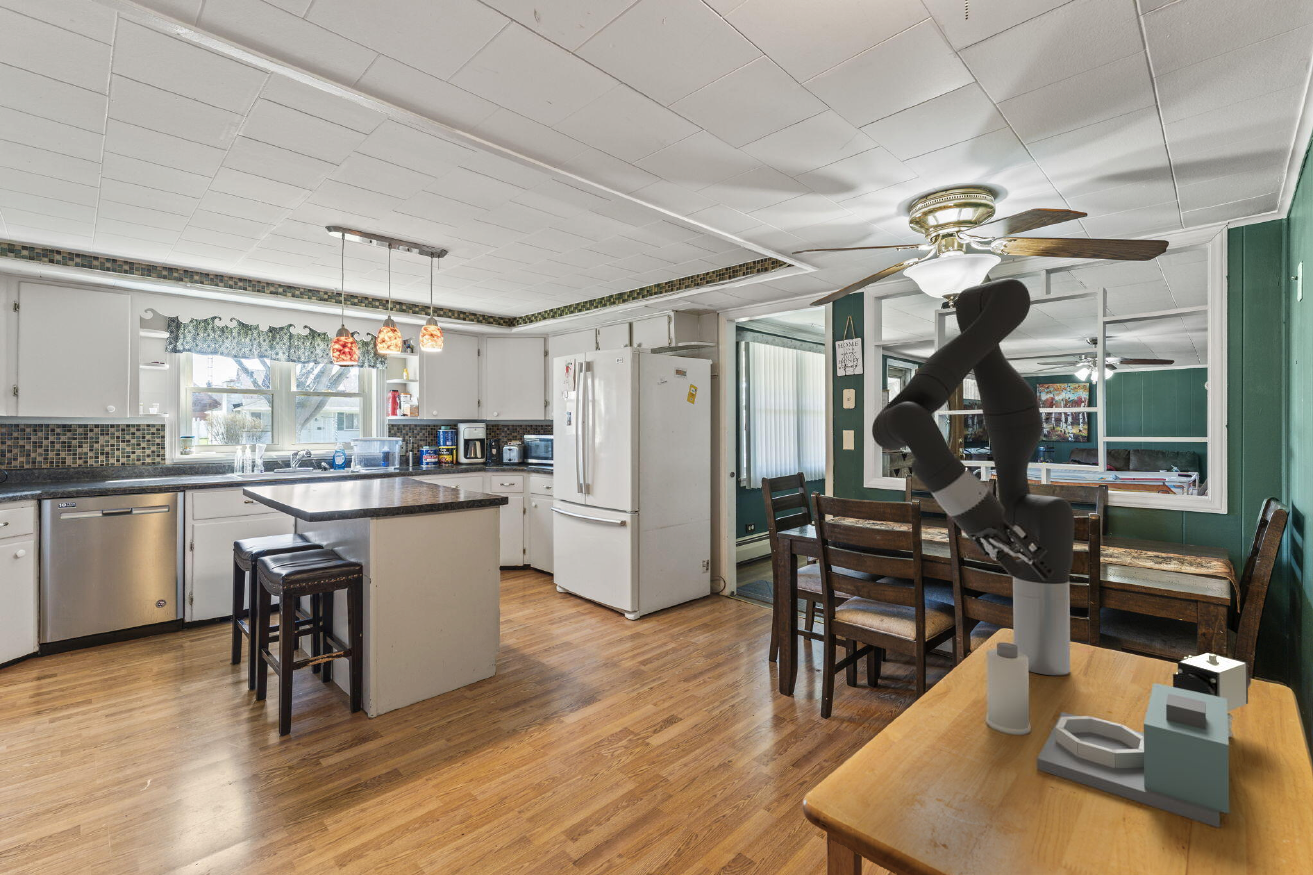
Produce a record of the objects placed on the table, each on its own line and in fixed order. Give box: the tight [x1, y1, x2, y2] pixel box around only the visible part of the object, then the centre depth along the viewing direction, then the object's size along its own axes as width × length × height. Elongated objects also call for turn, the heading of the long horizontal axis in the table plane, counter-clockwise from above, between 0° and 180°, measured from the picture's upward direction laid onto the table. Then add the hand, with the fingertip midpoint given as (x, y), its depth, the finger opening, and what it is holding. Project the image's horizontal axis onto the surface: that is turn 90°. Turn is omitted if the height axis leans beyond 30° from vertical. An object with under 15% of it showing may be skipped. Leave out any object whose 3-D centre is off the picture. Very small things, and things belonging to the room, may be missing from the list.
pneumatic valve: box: [1172, 652, 1252, 739], centre depth 90 cm, size 6×12×12 cm, turn 115°
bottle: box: [985, 641, 1032, 736], centre depth 93 cm, size 6×6×12 cm
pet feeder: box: [1036, 682, 1230, 829], centre depth 81 cm, size 19×19×12 cm
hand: (1033, 575), depth 99 cm, fingers open, 8 cm apart
